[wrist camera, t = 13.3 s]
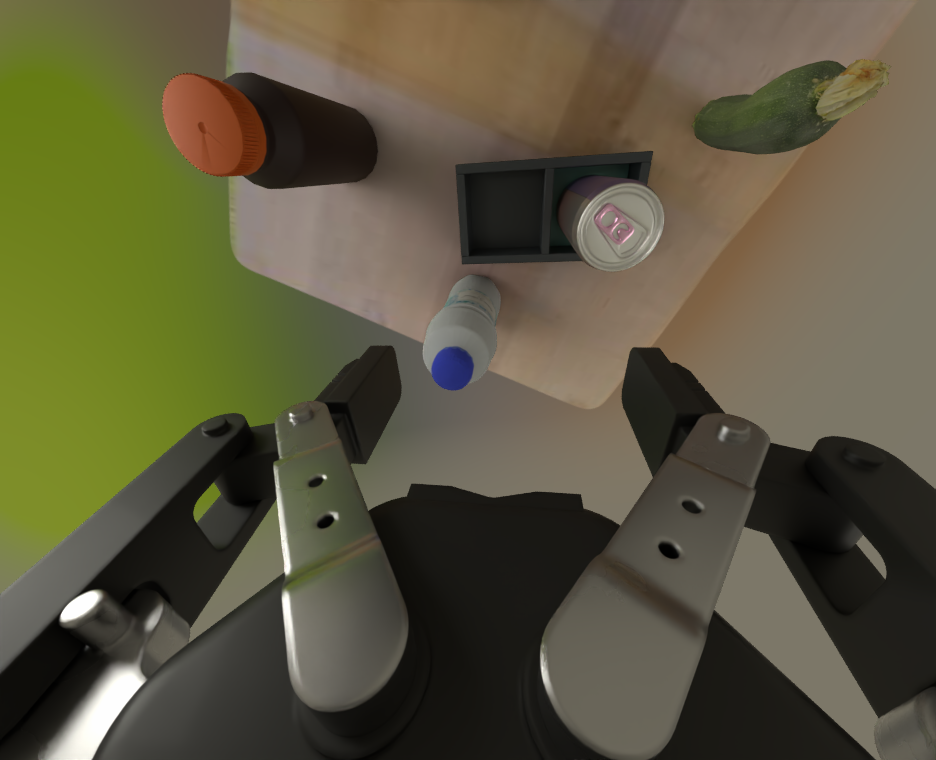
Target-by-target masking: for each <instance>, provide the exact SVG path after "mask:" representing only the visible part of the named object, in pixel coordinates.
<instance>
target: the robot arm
mask: <svg viewBox="0 0 936 760" xmlns="http://www.w3.org/2000/svg"><path fill="white" fill-rule="evenodd" d="M400 397H401V380H400V375H399V370H398V364H397V359H396V353H395V350H394V348H393V347H392V346H370V347H369V348H368V349H367V350H366V352H365V353H364V354H363V355H362V356H361V357H360V359H356V360H354V361H352V362H351V363H349V364H347V365H346V366H345V367H344V368H343V369H342V370H341V371H340V372H339V373H338V375H337V376H336V377H335V378H334V379H333V380H332V382H330V383H329V385H328V386H327V387H326V388H325V389H324V390H323V391H322V392H321V393H320V395H319V396H318V397H317V398H316V399H315V400H314V401H307V402H302V403H299V404H296V405H293V406H291V407H289V408H287V409H286V410H284V411H283V412H281V413H280V414H279V415H278V416H277V418H276V420H275V423H273V424H267V425H261V426H255V427H249V425H248V423H247V421H246V419H245V417H244V416H243V415H241V414H237V413H231V414H224V415H219V416H216V417H214V418H211V419H208V420H207V421H204V422H202V423H201V424H199V425H197V426H196V427H195V428H193V429H192V430H191V431H190V432H189V433H188V434H186V435H185V436H184V437H183V438H182V439H181V440H179V441H178V442H177V443H176V444H175V445H174V446H172V447H171V448H170V449H169V450H168V451H167V452H166V453H164V454H163V455H162V456H161V457H160V458H158V459H157V460H156V461H155V462H154V463H153V464H151V465H150V466H149V467H148V468H147V469H146V470H144V472H142V473H141V474H140V475H139V476H137V477H136V478H135V479H134V480H133V481H132V482H130V483H129V484H128V485H127V486H126V487H125V488H124V489H122V490H121V491H120V492H119V493H118V494H116V495H115V496H114V497H113V498H112V499H111V500H110V501H108V502H107V503H106V504H105V505H104V506H102V507H101V508H100V509H99V510H98V511H97V512H95V513H94V514H93V515H92V516H91V517H90V518H88V519H87V520H86V521H85V522H84V523H83V524H81V525H80V526H79V527H78V528H77V529H76V530H74V531H73V532H72V533H71V534H70V535H69V536H67V537H66V538H65V539H64V540H63V541H62V542H60V543H59V544H58V545H57V546H56V547H55V548H54V549H52V550H51V551H50V552H49V553H48V554H46V555H45V556H44V557H43V558H42V559H41V560H40V561H38V562H37V563H36V564H35V565H34V566H32V567H31V568H30V569H29V570H28V571H27V572H25V573H24V574H23V575H22V576H21V577H20V578H18V579H17V580H16V581H15V582H14V583H13V584H11V585H10V586H9V587H8V588H7V589H6V590H4V591H3V592H2V593H1V594H0V760H875V759H874V758H873V757H872V756H871V755H870V754H869V753H868V752H867V751H866V750H865V749H864V748H863V747H862V746H861V745H860V744H859V743H858V742H857V741H855V740H854V739H853V738H852V737H851V736H850V735H849V734H848V733H847V732H846V731H845V730H844V729H843V728H841V727H840V726H839V725H838V724H837V723H836V722H835V721H834V720H833V719H832V718H831V717H829V716H828V715H827V714H826V713H825V712H824V711H823V710H822V709H821V708H820V707H819V706H818V705H816V704H815V703H814V702H813V701H812V700H811V699H810V698H809V697H808V696H807V695H806V694H805V693H804V692H803V691H801V690H800V689H799V688H798V687H797V686H796V685H795V684H794V683H793V682H791V680H789V679H788V678H787V677H786V676H785V675H784V674H783V673H782V672H781V671H780V670H779V669H777V667H775V666H774V665H773V664H772V663H771V662H770V661H769V660H768V659H767V658H766V657H765V656H764V655H762V654H761V653H760V652H759V651H758V650H757V649H756V648H755V647H754V646H753V645H752V644H751V643H749V642H748V641H747V640H746V639H745V638H744V637H743V636H742V635H741V634H740V633H739V632H738V631H737V630H735V629H734V628H733V627H732V626H731V625H730V624H729V623H728V622H727V621H726V620H725V619H724V618H722V617H721V616H720V615H719V614H718V613H717V612H716V611H715V610H714V608H715V605H716V603H717V600H718V597H719V594H720V592H721V588H722V586H723V583H724V580H725V578H726V575H727V572H728V569H729V566H730V564H731V561H732V558H733V555H734V552H735V549H736V547H737V544H738V541H739V539H740V535H741V533H742V530H743V527H747V528H750V529H753V530H757V531H760V532H763V533H766V534H769V536H770V538H771V540H772V541H773V543H774V544H775V546H776V548H777V549H778V551H779V553H780V555H781V556H782V558H783V560H784V561H785V563H786V564H787V566H788V568H789V570H790V571H791V573H792V575H793V576H794V578H795V580H796V581H797V583H798V585H799V586H800V588H801V590H802V591H803V593H804V595H805V596H806V598H807V600H808V601H809V603H810V604H811V606H812V608H813V610H814V611H815V613H816V615H817V616H818V618H819V620H820V621H821V623H822V625H823V626H824V628H825V630H826V631H827V633H828V635H829V636H830V638H831V640H832V641H833V643H834V645H835V646H836V648H837V649H838V651H839V653H840V654H841V656H842V658H843V660H844V661H845V663H846V665H847V666H848V668H849V670H850V671H851V673H852V675H853V676H854V678H855V680H856V681H857V683H858V685H859V686H860V688H861V690H862V691H863V693H864V695H865V696H866V698H867V700H868V701H869V703H870V705H871V706H872V708H873V710H874V711H875V713H876V715H877V716H878V718H879V719H878V720H877V722H876V725H875V728H874V738H875V744H876V747H877V750H878V753H879V755H880V758H881V760H936V489H934V488H933V487H932V486H931V485H930V484H928V483H927V482H926V481H925V480H924V479H923V478H921V477H920V476H919V475H918V474H916V473H915V472H914V471H913V470H912V469H911V468H909V467H908V466H907V465H906V464H904V463H903V462H902V461H901V460H899V459H898V458H897V457H895V456H893V455H892V454H890V453H889V452H887V451H884V450H883V449H880V448H878V447H876V446H874V445H871V444H868V443H866V442H863V441H859V440H855V439H851V438H846V437H838V436H837V437H836V436H831V437H824V438H821V439H819V440H818V442H817V443H816V445H815V446H814V448H813V449H812V451H811V452H810V451H805V450H801V449H796V448H791V447H787V446H782V445H778V444H774V443H770V438H769V436H768V434H767V433H766V432H765V431H764V430H763V429H761V428H760V427H759V426H757V425H756V424H754V423H752V422H750V421H748V420H746V419H744V418H741V417H738V416H734V415H730V414H725V412H724V411H723V410H722V409H721V408H720V406H719V405H718V404H717V403H716V402H715V401H714V399H713V398H712V397H711V396H710V395H709V393H708V392H707V391H705V388H704V387H703V386H702V385H701V383H698V380H697V379H696V378H695V376H694V375H693V374H692V373H691V372H690V371H689V370H687V369H686V368H684V367H682V366H681V365H679V364H677V363H671V362H670V361H669V360H668V359H667V357H666V356H665V355H664V353H663V352H662V351H661V349H660V348H641V347H634V348H632V349H631V351H630V354H629V359H628V364H627V368H626V373H625V378H624V383H623V388H622V404H623V408H624V410H625V412H626V415H627V417H628V419H629V422H630V424H631V426H632V429H633V431H634V434H635V436H636V438H637V441H638V443H639V446H640V448H641V450H642V453H643V455H644V457H645V460H646V462H647V464H648V467H649V469H650V471H651V474H652V476H653V479H652V480H651V482H650V483H649V484H648V486H647V488H646V489H645V490H644V492H643V493H642V495H641V496H640V498H639V499H638V501H637V502H636V504H635V505H634V507H633V508H632V510H631V511H630V512H629V514H628V515H627V517H626V518H625V520H624V521H623V523H622V524H621V526H620V525H619V524H617V523H615V522H614V521H612V520H610V519H608V518H606V517H604V516H602V515H600V514H597V513H595V512H593V511H590V510H587V509H583V504H582V498H581V494H567V493H552V492H531V493H524V494H517V495H510V496H503V497H496V498H492V497H486V496H483V495H480V494H476V493H473V492H470V491H466V490H462V489H459V488H456V487H452V486H442V485H441V486H440V485H426V484H411V486H410V489H409V492H408V495H407V497H401V498H397V499H394V500H391V501H388V502H385V503H383V504H381V505H378V506H376V507H374V508H372V509H371V510H369V511H368V509H367V506H366V503H365V501H364V498H363V496H362V493H361V491H360V488H359V486H358V483H357V480H356V478H355V475H354V472H353V470H352V467H351V463H356V464H366V463H367V461H368V459H369V458H370V456H371V454H372V452H373V450H374V448H375V446H376V444H377V442H378V440H379V439H380V437H381V435H382V433H383V431H384V429H385V427H386V425H387V423H388V421H389V419H390V417H391V416H392V414H393V412H394V410H395V408H396V406H397V404H398V402H399V400H400ZM213 482H214V483H215V485H216V486H217V488H218V489H219V491H220V492H221V495H220V496H219V497H218V499H217V500H216V501H215V502H214V503H213V505H212V506H211V507H210V508H209V509H208V511H207V512H206V513H205V514H204V515H203V517H202V518H201V519H200V520H199V521H198V523H196V521H195V520H194V516H193V511H194V507H195V504H196V502H197V500H198V499H199V498H200V497H201V496H202V494H203V493H204V492H205V491H206V490H207V489H208V488H209V486H211V484H212V483H213ZM276 499H277V503H278V513H279V522H280V531H281V541H282V550H283V558H284V568H285V572H284V573H283V574H282V575H280V576H279V577H278V578H276V579H275V580H273V581H272V582H271V583H269V584H268V585H267V586H265V587H264V588H263V589H261V590H260V591H259V592H257V593H256V594H255V595H253V596H252V597H251V598H249V599H248V600H247V601H245V602H244V603H242V604H241V605H240V606H238V607H237V608H236V609H234V610H233V611H232V612H230V613H229V614H228V615H226V616H225V617H224V618H222V619H221V620H219V621H218V622H217V623H215V624H214V625H213V626H211V627H210V628H209V629H207V630H206V631H205V632H203V633H202V634H201V635H199V636H198V637H197V638H195V639H194V640H193V641H191V642H190V643H188V642H189V638H190V628H191V627H192V625H193V624H194V622H195V621H196V619H197V618H198V616H199V614H200V613H201V611H202V610H203V608H204V607H205V605H206V604H207V603H208V601H209V600H210V598H211V597H212V595H213V594H214V592H215V591H216V589H217V588H218V586H219V584H220V583H221V582H222V580H223V579H224V577H225V575H226V574H227V573H228V571H229V570H230V568H231V566H232V565H233V563H234V562H235V560H236V559H237V557H238V556H239V554H240V553H241V551H242V550H243V548H244V547H245V545H246V544H247V542H248V541H249V539H250V538H251V536H252V535H253V533H254V532H255V530H256V529H257V527H258V526H259V524H260V523H261V521H262V520H263V518H264V517H265V515H266V514H267V512H268V511H269V509H270V508H271V506H272V505H273V503H274V502H275V500H276ZM863 535H864V536H865V537H866V538H867V539H868V540H869V542H870V543H871V544H872V545H873V546H874V548H875V549H876V550H877V551H878V552H879V554H880V555H881V557H882V558H883V560H884V563H885V566H886V571H887V575H886V580H885V579H884V578H883V576H882V575H881V574H880V573H879V571H878V570H877V569H876V568H875V566H874V565H873V564H872V563H871V562H870V560H869V559H868V558H867V557H866V556H865V554H864V553H863V552H862V551H861V549H860V548H859V547H858V546H857V545H856V543H857V541H858V540H859V539H860V538H861V537H862V536H863Z"/></svg>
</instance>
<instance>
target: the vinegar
mask: <svg viewBox="0 0 936 760" xmlns="http://www.w3.org/2000/svg"><path fill="white" fill-rule="evenodd" d="M167 85H168V86H167V87H166V89H165V90H164V97H163V102H162V103H163V105H162V107H163V113H164V114H163V115H164V120H165V124H166V126H167V129H168V131H169V134H170V137H171V138H172V140H173V141H174V143H175V145H176V146H177V148H178V149H179V151H180V152H181V153H182V154H183V156H184V157H186V159H187V160H188V161H189V162H190V163H192V164H193V166H196V168H199V170H202V171H203V172H206V173H207V174H210V175H213V176H221V177H222V176H244V177H245V178H246V179H248V180H249V181H251V182H252V183H254V184H256V185H259V186H262V187H265V188H267V189H284V188H296V187H307V186H318V185H329V184H340V183H351V182H358V181H360V180H363V179H365V178H366V177H367V176H368V175H369V174H370V173H371V172H372V170H373V168H374V166H375V164H376V160H377V153H378V149H377V141H376V137H375V135H374V132H373V129H372V127H371V126H370V124H369V123H368V121H367V120H366V118H365V117H364V116H363V115H362V114H360V113H359V112H358V111H357V110H356V109H353V108H351V107H348V106H345V105H343V104H340V103H337V102H334V101H331V100H328V99H326V98H323V97H320V96H317V95H314V94H311V93H308V92H306V91H303V90H300V89H297V88H294V87H291V86H289V85H286V84H283V83H280V82H277V81H274V80H272V79H269V78H266V77H263V76H260V75H257V74H255V73H235V74H233V75H232V76H230V77H228V78H227V79H225V80H223V81H219V80H215V79H211V78H208V77H204V76H201V75H198V74H192V73H190V74H189V73H186V74H185V73H183V74H180V75H177V77H174V79H171V81H169V84H167Z"/></svg>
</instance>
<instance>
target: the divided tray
mask: <svg viewBox="0 0 936 760" xmlns="http://www.w3.org/2000/svg"><path fill="white" fill-rule="evenodd" d="M652 155H653V151H644V152H630V153H615V154H601V155H587V156H572V157H558V158H544V159H529V160H515V161H500V162H486V163H472V164H457V165H456V174H457V175H456V179H457V194H458V210H459V225H460V241H461V256H462V264H490V263H526V262H561V261H582V259H581V258H580V257H579V256H578V254H577V253H576V251H575V250H574V248H573V247H572V245H571V243H570V242H569V240H568V239H567V237H566V236H565V234H564V233H563V231H562V230H561V228H560V226H559V224H558V221H557V216H556V209H557V203H558V200H559V198H560V196H561V194H562V192H563V191H564V189H565V188H566V187H567V186H568V185H569V184H570V183H571V182H573V181H574V180H576V179H578V178H580V177H583V176H587V175H597V176H606V177H616V178H625V179H633V180H637V181H640V182H642V183H644V184H646V185H647V182H648V177H649V171H650V166H651V160H652Z"/></svg>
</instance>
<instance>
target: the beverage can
mask: <svg viewBox="0 0 936 760" xmlns="http://www.w3.org/2000/svg"><path fill="white" fill-rule="evenodd" d="M556 216H557V221H558V224H559V226H560V228H561V230H562V231H563V233H564V234H565V236H566V237H567V239H568V240H569V242H570V243H571V245H572V247H573V248H574V250H575V251H576V253H577V254H578V256H579V257H580V258H581V259H582V261H584V262H585V263H586V264H587V265H589V266H591V267H593V268H595V269H599V270H602V271H609V272H615V271H622V270H625V269H628V268H631V267H633V266H635V265H637V264H638V263H640V262H641V261H642V260H644V259H645V258H646V257H647V256H648V255H649V254H650V253H651V252H652V251H653V249H654V248H655V246H656V245H657V243H658V241H659V239H660V237H661V234H662V231H663V227H664V210H663V206H662V204H661V201H660V200H659V198H658V196H657V195H656V194H655V192H654V191H653V190H652V189H651V188H650V187H649V186H647V185H646V184H644V183H642V182H640V181H637V180H633V179H625V178H616V177H606V176H597V175H587V176H583V177H580V178H578V179H576V180H574V181H573V182H571V183H570V184H569V185H568V186H567V187H566V188H565V189H564V191H563V192H562V194H561V196H560V198H559V200H558V203H557V209H556Z"/></svg>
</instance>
